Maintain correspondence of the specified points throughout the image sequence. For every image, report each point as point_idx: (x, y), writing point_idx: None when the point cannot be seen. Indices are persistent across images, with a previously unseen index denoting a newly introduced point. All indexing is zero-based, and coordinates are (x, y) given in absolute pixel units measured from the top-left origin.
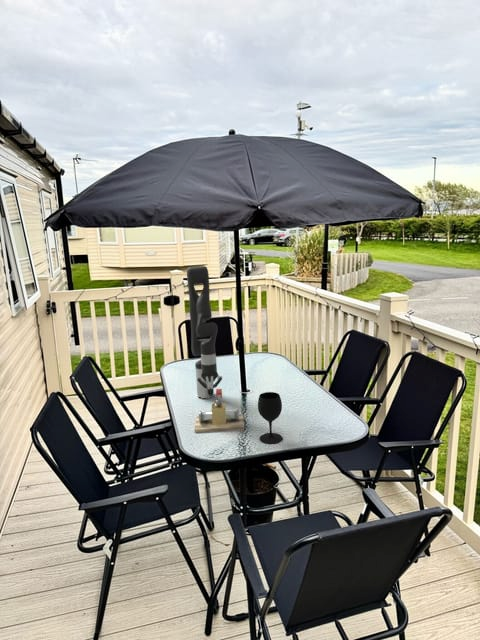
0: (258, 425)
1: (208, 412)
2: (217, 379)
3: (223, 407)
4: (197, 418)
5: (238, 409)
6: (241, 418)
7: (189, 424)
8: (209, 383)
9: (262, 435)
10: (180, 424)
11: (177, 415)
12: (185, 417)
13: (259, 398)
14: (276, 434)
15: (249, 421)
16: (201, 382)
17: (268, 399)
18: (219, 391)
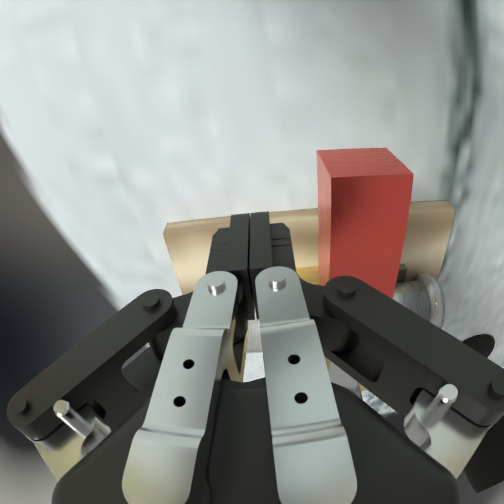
0: (474, 287)
1: (261, 348)
2: (407, 421)
3: (360, 387)
4: (177, 259)
5: (440, 326)
6: (434, 263)
7: (150, 279)
8: (231, 341)
9: None
10: (107, 277)
11: (37, 173)
12: (89, 197)
13: (474, 487)
14: (486, 346)
15: (458, 253)
16: (115, 416)
17: (486, 488)
18: (373, 269)
